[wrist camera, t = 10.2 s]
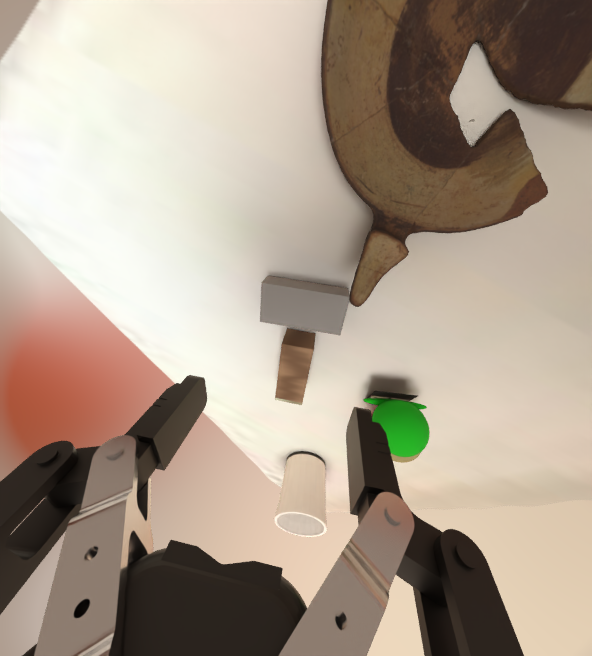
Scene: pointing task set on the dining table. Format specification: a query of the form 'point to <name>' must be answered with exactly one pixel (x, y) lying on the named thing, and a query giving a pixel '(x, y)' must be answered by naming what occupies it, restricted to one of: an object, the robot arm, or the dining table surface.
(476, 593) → the robot arm
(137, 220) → the dining table surface
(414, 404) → the toy
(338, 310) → the hammer head
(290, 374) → the block
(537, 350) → the dining table surface
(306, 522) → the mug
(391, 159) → the oil lamp
